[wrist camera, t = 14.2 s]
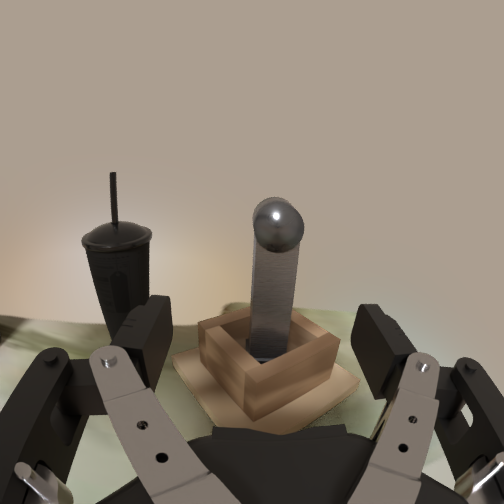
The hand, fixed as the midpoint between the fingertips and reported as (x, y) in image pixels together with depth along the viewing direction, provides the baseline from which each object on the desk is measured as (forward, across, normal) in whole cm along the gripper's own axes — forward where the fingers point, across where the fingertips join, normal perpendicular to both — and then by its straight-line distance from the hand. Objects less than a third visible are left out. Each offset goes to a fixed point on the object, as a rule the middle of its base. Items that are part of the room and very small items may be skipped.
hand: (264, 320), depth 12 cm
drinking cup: (+16, +14, +16) cm, 27 cm away
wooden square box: (+11, -2, +15) cm, 19 cm away
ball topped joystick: (+11, -2, +14) cm, 18 cm away
